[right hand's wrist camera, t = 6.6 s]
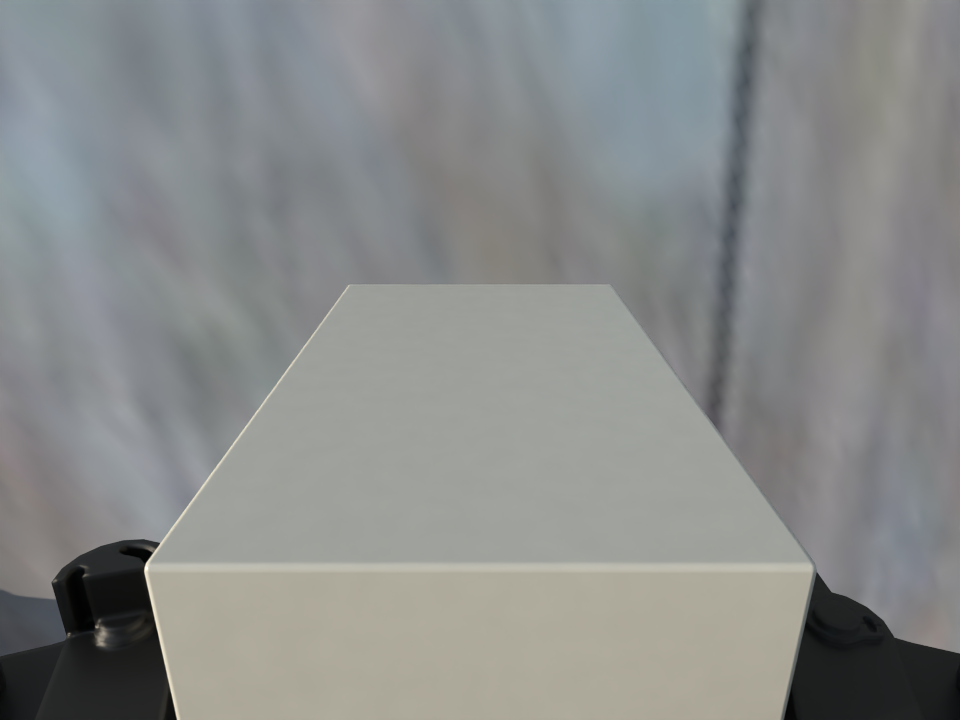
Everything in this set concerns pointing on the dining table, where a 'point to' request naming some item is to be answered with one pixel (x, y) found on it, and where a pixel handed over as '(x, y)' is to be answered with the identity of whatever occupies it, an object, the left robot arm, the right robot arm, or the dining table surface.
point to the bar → (480, 529)
